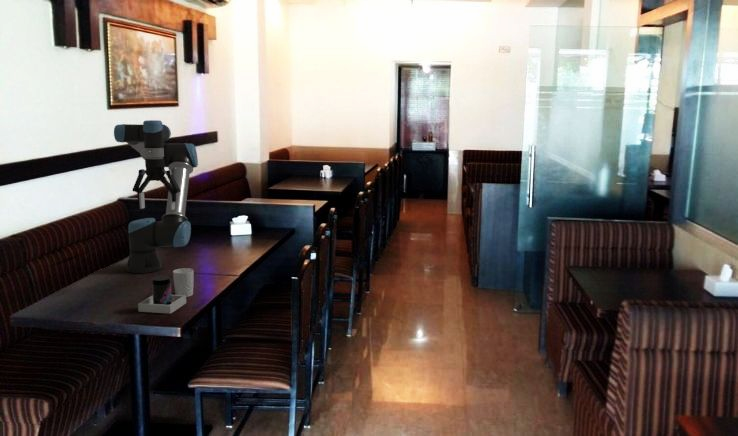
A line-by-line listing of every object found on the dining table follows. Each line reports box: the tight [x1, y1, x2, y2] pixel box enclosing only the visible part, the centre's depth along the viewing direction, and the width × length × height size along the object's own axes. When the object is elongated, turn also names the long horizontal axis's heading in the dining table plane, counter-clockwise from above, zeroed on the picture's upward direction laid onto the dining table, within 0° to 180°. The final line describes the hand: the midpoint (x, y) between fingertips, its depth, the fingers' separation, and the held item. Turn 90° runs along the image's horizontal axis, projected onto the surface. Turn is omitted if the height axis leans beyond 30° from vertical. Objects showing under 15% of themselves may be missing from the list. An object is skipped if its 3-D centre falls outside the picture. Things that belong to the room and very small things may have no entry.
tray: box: [137, 294, 187, 314], centre depth 233 cm, size 13×13×3 cm
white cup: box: [172, 267, 195, 298], centre depth 247 cm, size 8×8×10 cm
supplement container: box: [151, 275, 172, 305], centre depth 232 cm, size 7×7×10 cm
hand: (157, 209), depth 260 cm, fingers open, 13 cm apart
